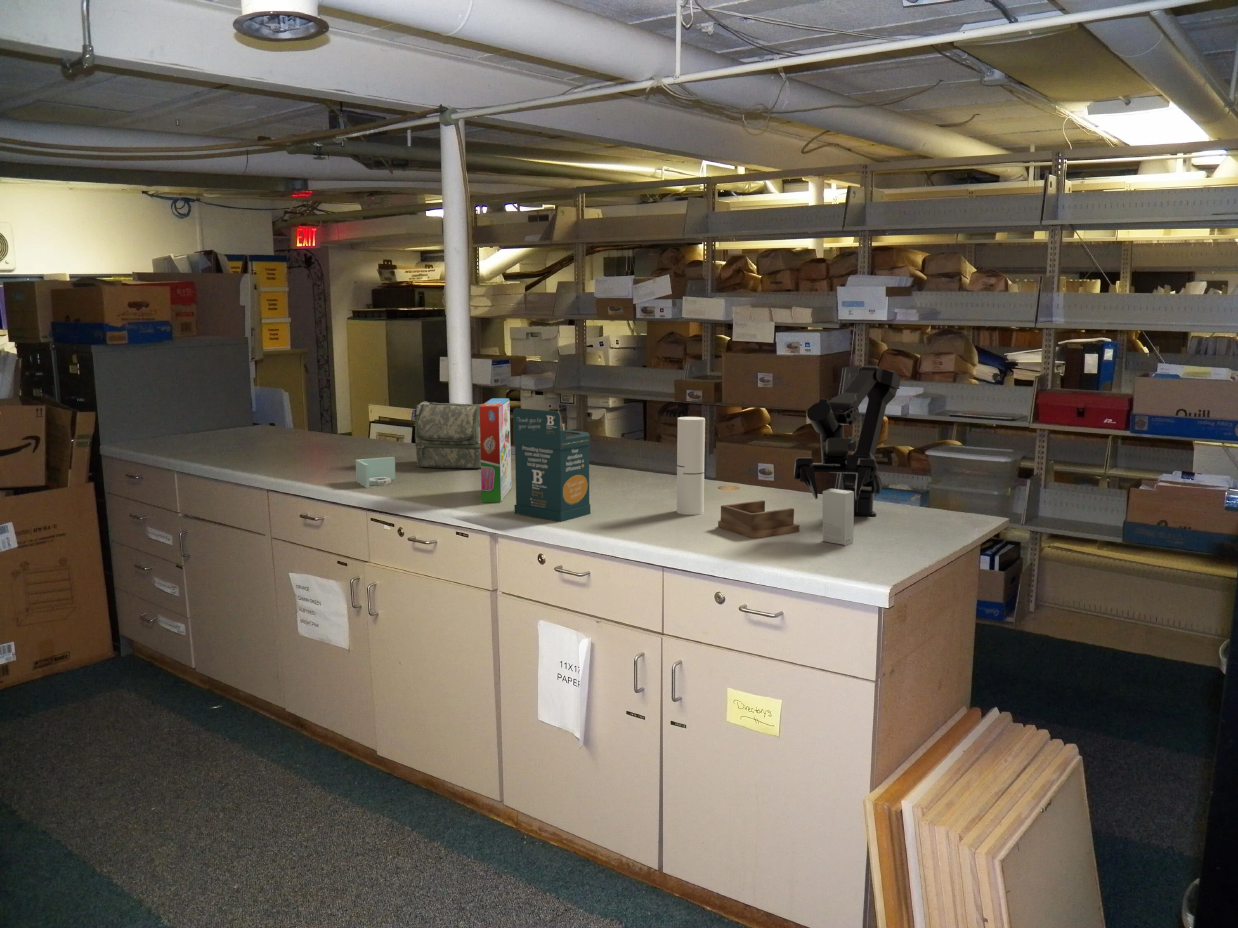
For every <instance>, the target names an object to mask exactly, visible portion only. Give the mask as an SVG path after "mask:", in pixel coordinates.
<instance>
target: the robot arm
mask: <svg viewBox="0 0 1238 928" xmlns="http://www.w3.org/2000/svg"><path fill="white" fill-rule="evenodd" d="M900 385H901V377H900V376H899V375H898V374H897V372H896V370H895V371H894V370H887V369H884V368H882V367H880V366H877V365H863V366H860V367H859V369H858V373H857V374H856V376H855V378H853V380H852V381H851V382H850V383H849V385H848V386H847V387H846V389H845V390H844V391H843V393H841V394H839V395H836V396H834V397H833V398H831V399H830V400H829V398H820V399H819V401H818V402H815V403H813V404H812V405H811V406H810V407H809V408H808V409H807V410H806V411H807V412H806V416H807V418H808V420H809V422H810V423H811V425H812V427H813V428H814V430H815V432H816V433H818V434H819V435H820V436H819V437H820V453H821V462H813V457H806V456H805V457H804V456H803V457H802V456H801V457H800V456H799V457H798V456H797V457H796V458H795V460H794V467H793V478H794V479H795V480H799V482H800V483H804V484H805V485H806V487H807V488H808V489H809V491H810V492H811V494H812V496H813V498H814V499H815V500H818V498H819V496H818V495H819V493H818V486H817V481H816V476H815V475H816V474H815V473H830V474H841V477H842V478H841V479H842V484H843V485H842V486H843V490H846V491H853V492H854V516H857V517H858V516H863V517H864V516H867V517H868V516H869V517H870V516H872V517H873V516H875V517H876V516H877V513H876V512H875V511H874V494H879V493H881V492H882V489H883V481H882V479H881V477H880V475H879V472H878V471H879V466H878V463H877V461H876V458H875V455H876V451H877V447H878V446H877V445H878V442H879V440H880V439H879V437H880V434H881V431H882V424H883V421H884V417H885V413H886V408H887V405H889V403H891V401H893V399H895V398H896V395H897V392H898V389H899V388H900ZM865 398H867V404H866V409H865V413H864V417H863V420H862V421H863V422H862V426H861V429H860V433H859V438H858V442H857V437H856V436H847V437H845V430H844V429H845V428H844V426H845V425H846V426H853V424H855V422H856V421H857V420H858V418H859V415H860V411H859V407H860V405H861V404H862V402H863V400H864V399H865ZM849 452H853V453H852V454H849Z"/></svg>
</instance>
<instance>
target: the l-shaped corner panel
mask: <svg viewBox="0 0 1238 928" xmlns="http://www.w3.org/2000/svg"><path fill="white" fill-rule="evenodd" d="M355 475H356V476H355V477H356V483H358V484H359V483H360V485H361V486H362V485H363V487H364V488H365V489H370V486H387V485H390V484H392V483H391V482H392V480H396V459H395V456H389V457H388V456H386V457H374V458H362V459H359V458H358V459H355Z"/></svg>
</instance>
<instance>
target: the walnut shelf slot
mask: <svg viewBox="0 0 1238 928" xmlns="http://www.w3.org/2000/svg"><path fill="white" fill-rule="evenodd" d="M794 518H795V508H792V507H791V508H789V507H788V508H783V509H775V510H768V511H766V501H765V500H763V499H761V500H754V501H747V502H739V503H738V502H737V503H731V504H723V505H720V520H717V527H718V528H721V529H725V530H728V531H730V532H733V533H737V534H739V535H742V536H745V537H747V538H748V537H749V538H751V539H759V538H765V537H771V536H778V535H784V534H791V533H797V532H800V527H801V526H800V524H796V523H795V521H794Z"/></svg>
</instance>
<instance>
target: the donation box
mask: <svg viewBox="0 0 1238 928" xmlns="http://www.w3.org/2000/svg"><path fill="white" fill-rule="evenodd" d="M512 417H513V418H512V419H513V420H512V421H513V423H512V426H513V427H512V429H513V430H512V431H513V432H512V434H513V435H512V437H513V438H512V440H513V445H514V453H515V454H514V458H515V459H514V462H515V504H514V505H513V506H514V507H513V508H514V509H513V510H514V514H515V515H520V516H527V517H531V518H537V519H542V520H550V521H554V522H560V523H562V522H566V521H570V520H574V519H578V518H580V517H581V518H582V517H585V516H588V515H591V504H590V445H591V435H590V433H589V432H587V431H580V430H579V431H578V430H569V429H561V426H562V425H561V422H562V421H561V419H562V418H561V414H560V412H559V411H556V410H554V411H553V410H544V409H534V408H533V409H532V408H523V407H516V408H514V409H513V410H512Z"/></svg>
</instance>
